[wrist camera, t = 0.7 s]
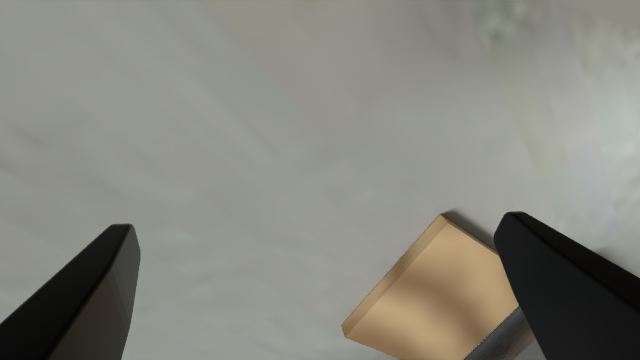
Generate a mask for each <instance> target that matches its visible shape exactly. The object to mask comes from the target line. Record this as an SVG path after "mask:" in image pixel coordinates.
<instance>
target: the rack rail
mask: <svg viewBox="0 0 640 360" xmlns="http://www.w3.org/2000/svg"><path fill="white" fill-rule="evenodd" d="M464 360H546V358H545V356H544V354H543V352H542V350H541V348H540V346H539V344H538V342H537V340H536V338H535V336H534V334H533V332H532V330H531V328H530V326H529V324H528V322H527V320H526V318H525V316H524V314H523V312H522V310H521V308H520V306H519V307H518V308H517V309H516V310H515V311H514V312H513V313H512V314H511V315H510V316H509V317H508V318H507V319H506V320H505V321H504V322H503V323H502V324H501V325H500V326H499V327H498V328H497V329H495V330H494V331H493V332H492V333H491V334H490V335H489V336H488V337H487V338H486V339H485V340H484V341H483V342H482V343H481V344H480V345H479V346H478V347H477V348H476V349H475V350H474V351H473V352H472V353H471V354H470V355H469V356H468V357H467V358H465V359H464Z"/></svg>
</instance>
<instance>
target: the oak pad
mask: <svg viewBox="0 0 640 360" xmlns="http://www.w3.org/2000/svg"><path fill="white" fill-rule="evenodd" d="M518 306H519V304H518V302H517V300H516V298H515V296H514V294H513V291H512V289H511V286H510V284H509V281H508V278H507V276H506V273H505V270H504V268H503V265H502V263H501V260H500V257H499V255H498V252H496V251H495V250H493V249H492V248H490V247H489V246H487V245H486V244H484V243H483V242H481V241H480V240H478V239H477V238H475V237H474V236H472V235H470V234H469V233H467V232H466V231H464V230H463V229H461V228H460V227H458V226H457V225H455V224H454V223H452V222H451V221H449V220H448V219H446V218H445V217H443V216H442V215H439V216H438V217H437V218H436V219H435V221H434V222H433V223H432V224H431V225H430V226H429V227H428V228H427V230H426V231H425V232H424V233H423V234H422V235H421V236H420V237H419V239H418V240H417V241H416V242H415V243H414V244H413V245H412V246H411V248H410V249H409V250H408V251H407V252H406V253H405V254H404V255H403V257H402V258H401V259H400V260H399V261H398V262H397V263H396V264H395V266H394V267H393V268H392V269H391V270H390V271H389V272H388V273H387V275H386V276H385V277H384V278H383V279H382V280H381V281H380V282H379V284H378V285H377V286H376V287H375V288H374V289H373V290H372V291H371V293H370V294H369V295H368V296H367V297H366V298H365V299H364V300H363V302H362V303H361V304H360V305H359V306H358V307H357V308H356V309H355V311H354V312H353V313H352V314H351V315H350V316H349V317H348V318H347V320H346V321H345V322H344V323H343V324H342V325H341V326H342V329H343V332H344V335H345V337H346V338H348V339H351V340H353V341H356V342H358V343H361V344H363V345H366V346H368V347H371V348H373V349H376V350H378V351H381V352H383V353H386V354H388V355H391V356H393V357H396V358H398V359H401V360H463V359H464V358H465V357H466V356H467V355H468V354H469V353H470V352H471V351H472V350H473V349H474V348H475V347H476V346H477V345H478V344H479V343H480V342H481V341H482V340H483V339H485V338H486V337H487V336H488V335H489V334H490V333H491V332H492V331H493V330H494V329H495V328H496V327H497V326H498V325H499V324H500V323H501V322H502V321H503V320H504V319H505V318H506V317H507V316H508V315H509V314H510V313H511V312H512V311H513V310H514V309H516V308H517V307H518Z"/></svg>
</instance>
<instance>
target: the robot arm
mask: <svg viewBox="0 0 640 360" xmlns="http://www.w3.org/2000/svg"><path fill="white" fill-rule="evenodd" d="M494 244H495V247H496V249H497V252H498V255H499V257H500V260H501V263H502V265H503V268H504V270H505V273H506V276H507V278H508V281H509V284H510V286H511V289H512V291H513V294H514V296H515V298H516V300H517V302H518V304H519V306H520V308H521V310H522V312H523V314H524V316H525V318H526V320H527V322H528V324H529V326H530V328H531V330H532V332H533V334H534V336H535V338H536V340H537V342H538V344H539V346H540V348H541V350H542V352H543V354H544V356H545V358H546V360H640V278H638V277H637V276H635V275H633V274H631V273H630V272H628V271H626V270H624V269H623V268H621V267H619V266H618V265H616V264H614V263H612V262H611V261H609V260H607V259H605V258H604V257H602V256H600V255H598V254H597V253H595V252H593V251H591V250H590V249H588V248H586V247H584V246H583V245H581V244H579V243H577V242H576V241H574V240H572V239H570V238H569V237H567V236H565V235H563V234H562V233H560V232H558V231H556V230H555V229H553V228H551V227H549V226H548V225H546V224H544V223H542V222H541V221H539V220H537V219H535V218H534V217H532V216H530V215H528V214H527V213H525V212H521V211H516V212H507V213H506V214H504V216H503V218H502V220H501V222H500V224H499V226H498V228H497V230H496V231H495V234H494ZM139 265H140V248H139V244H138V240H137V236H136V232H135V228H134V226H133V225H132V224H113V225H111V226H109V227H108V228H107V229H106V230H104V231H103V232H102V233H101V234H100V235H99V236H98V237H97V238H96V239H94V240H93V241H92V242H91V243H90V244H89V245H88V246H87V247H85V248H84V249H83V250H82V251H81V252H80V253H79V254H78V255H77V256H75V257H74V258H73V259H72V260H71V261H70V262H69V263H68V264H66V265H65V266H64V267H63V268H62V269H61V270H60V271H59V272H57V273H56V274H55V275H54V276H53V277H52V278H51V279H50V280H49V281H47V282H46V283H45V284H44V285H43V286H42V287H41V288H40V289H38V290H37V291H36V292H35V293H34V294H33V295H32V296H31V297H30V298H28V299H27V300H26V301H25V302H24V303H23V304H22V305H21V306H19V307H18V308H17V309H16V310H15V311H14V312H13V313H12V314H11V315H9V316H8V317H7V318H6V319H5V320H4V321H3V322H2V323H0V360H121V358H122V354H123V350H124V347H125V343H126V340H127V336H128V332H129V328H130V324H131V318H132V312H133V305H134V298H135V292H136V285H137V278H138V272H139Z"/></svg>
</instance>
